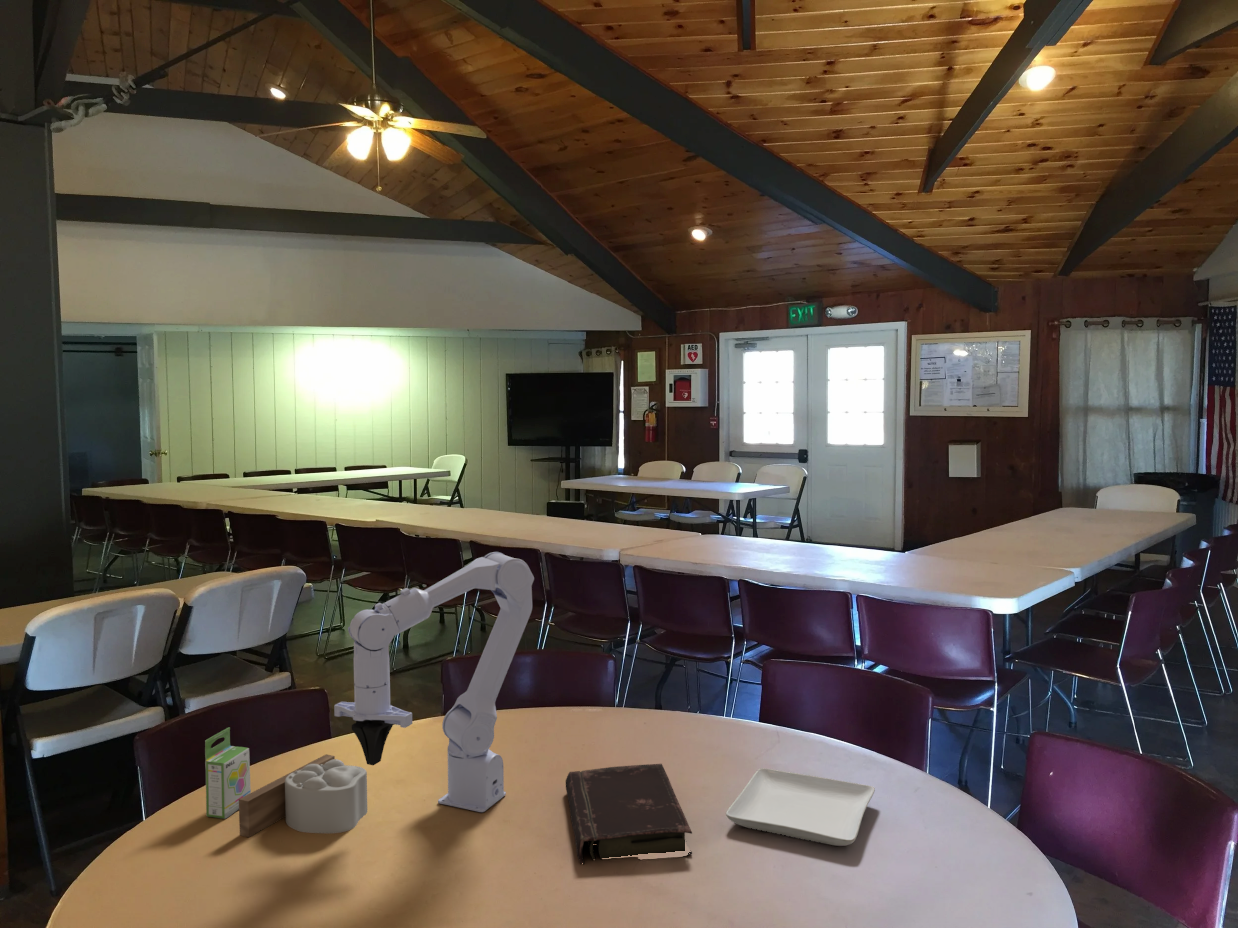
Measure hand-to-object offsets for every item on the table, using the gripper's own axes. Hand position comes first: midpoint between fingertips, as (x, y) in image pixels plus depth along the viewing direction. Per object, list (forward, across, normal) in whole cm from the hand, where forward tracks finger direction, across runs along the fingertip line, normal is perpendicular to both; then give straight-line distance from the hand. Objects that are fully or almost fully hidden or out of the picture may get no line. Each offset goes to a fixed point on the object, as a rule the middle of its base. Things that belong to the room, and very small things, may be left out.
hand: (373, 762), depth 143 cm
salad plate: (+11, +66, +30) cm, 73 cm away
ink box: (+10, -27, -6) cm, 29 cm away
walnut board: (+10, -17, -2) cm, 20 cm away
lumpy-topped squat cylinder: (+11, -9, -2) cm, 14 cm away
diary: (+11, +39, +16) cm, 44 cm away
